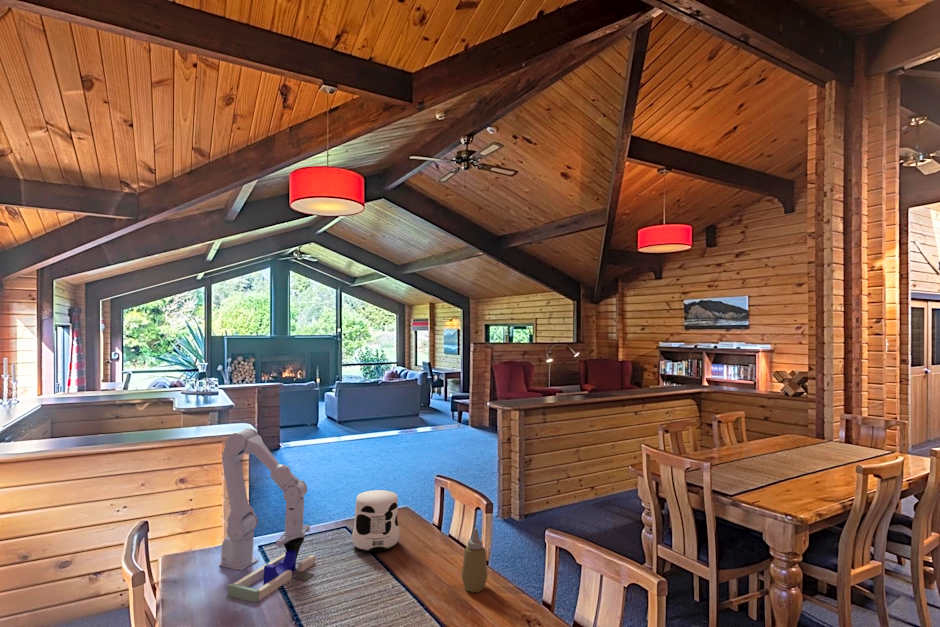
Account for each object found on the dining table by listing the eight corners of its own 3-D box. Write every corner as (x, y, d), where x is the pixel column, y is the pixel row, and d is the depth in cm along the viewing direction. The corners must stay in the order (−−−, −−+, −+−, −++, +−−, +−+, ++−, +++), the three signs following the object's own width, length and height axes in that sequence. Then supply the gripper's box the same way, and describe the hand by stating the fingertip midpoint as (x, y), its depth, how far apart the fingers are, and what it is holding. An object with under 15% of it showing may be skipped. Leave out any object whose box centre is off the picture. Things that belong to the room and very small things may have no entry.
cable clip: (283, 568, 161) (284, 549, 162) (295, 570, 160) (296, 551, 161) (259, 585, 150) (260, 565, 150) (271, 587, 149) (272, 567, 149)
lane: (227, 595, 144) (227, 585, 144) (289, 557, 169) (289, 548, 169) (256, 602, 140) (256, 591, 140) (315, 562, 166) (315, 553, 166)
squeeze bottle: (490, 584, 154) (491, 526, 155) (482, 597, 146) (484, 536, 148) (466, 580, 157) (467, 522, 158) (457, 592, 149) (459, 531, 150)
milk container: (376, 532, 193) (377, 486, 194) (408, 544, 183) (410, 495, 184) (341, 547, 179) (343, 497, 180) (374, 560, 169) (376, 507, 170)
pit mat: (291, 578, 155) (291, 578, 155) (301, 571, 159) (301, 571, 159) (304, 581, 153) (304, 581, 153) (314, 574, 158) (314, 573, 158)
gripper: (289, 528, 155) (287, 572, 155) (317, 513, 169) (315, 553, 168) (271, 525, 158) (269, 568, 157) (300, 510, 171) (298, 550, 171)
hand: (292, 560), depth 163 cm, fingers closed
